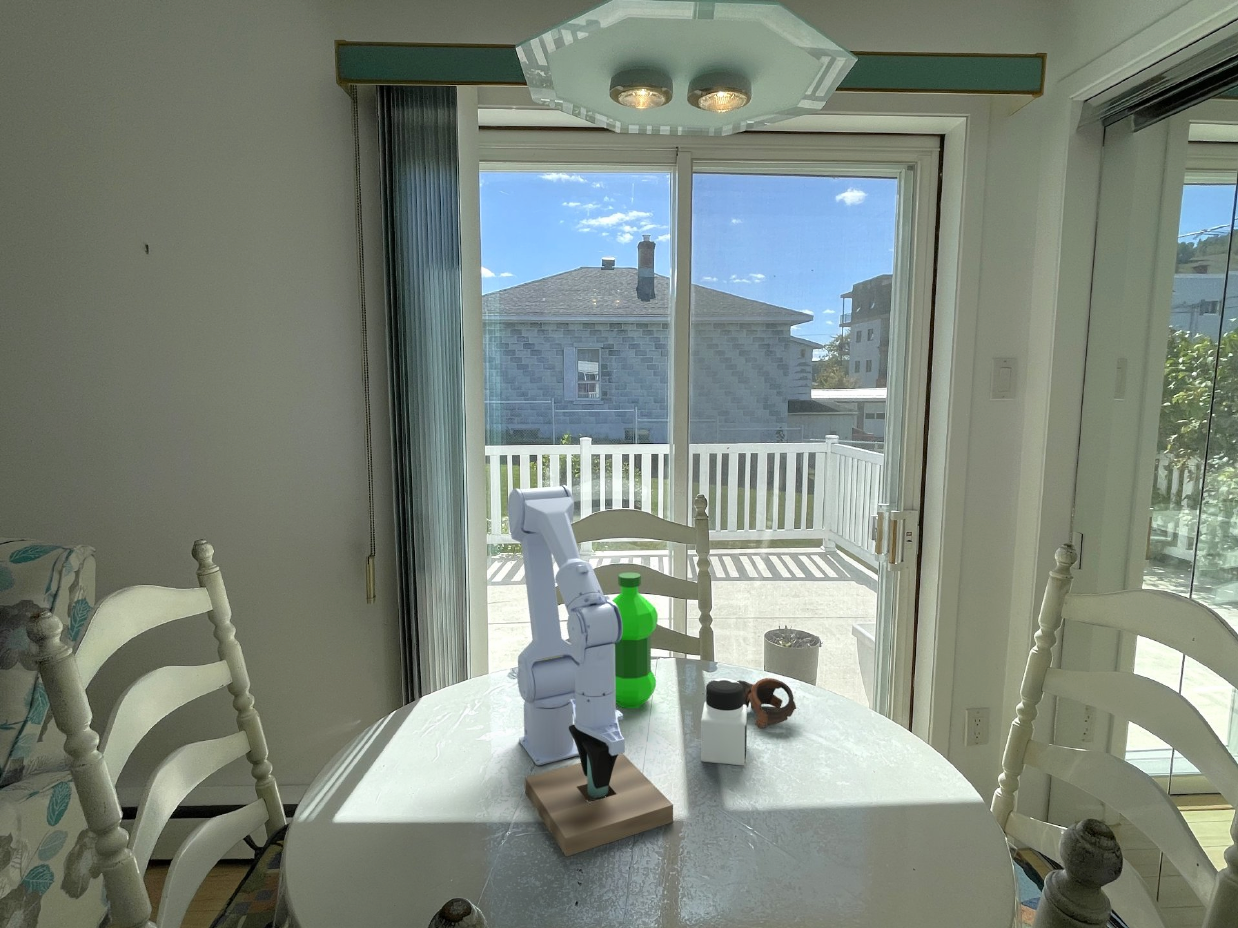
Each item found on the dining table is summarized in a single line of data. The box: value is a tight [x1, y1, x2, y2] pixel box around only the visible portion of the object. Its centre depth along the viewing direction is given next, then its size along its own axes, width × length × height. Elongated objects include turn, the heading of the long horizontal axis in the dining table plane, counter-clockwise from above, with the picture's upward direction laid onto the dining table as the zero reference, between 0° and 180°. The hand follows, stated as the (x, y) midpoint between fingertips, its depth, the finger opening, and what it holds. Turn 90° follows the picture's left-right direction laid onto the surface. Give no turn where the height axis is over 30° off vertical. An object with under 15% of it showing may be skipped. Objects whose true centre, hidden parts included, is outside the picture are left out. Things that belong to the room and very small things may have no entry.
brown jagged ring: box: [736, 677, 797, 729], centre depth 126 cm, size 12×10×8 cm
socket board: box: [524, 753, 674, 857], centre depth 99 cm, size 16×16×2 cm
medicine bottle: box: [700, 678, 748, 767], centre depth 113 cm, size 7×7×12 cm
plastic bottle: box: [611, 572, 658, 709], centre depth 132 cm, size 10×10×25 cm
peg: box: [587, 755, 608, 798], centre depth 99 cm, size 3×3×6 cm
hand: (596, 779), depth 99 cm, fingers closed on peg, 3 cm apart
